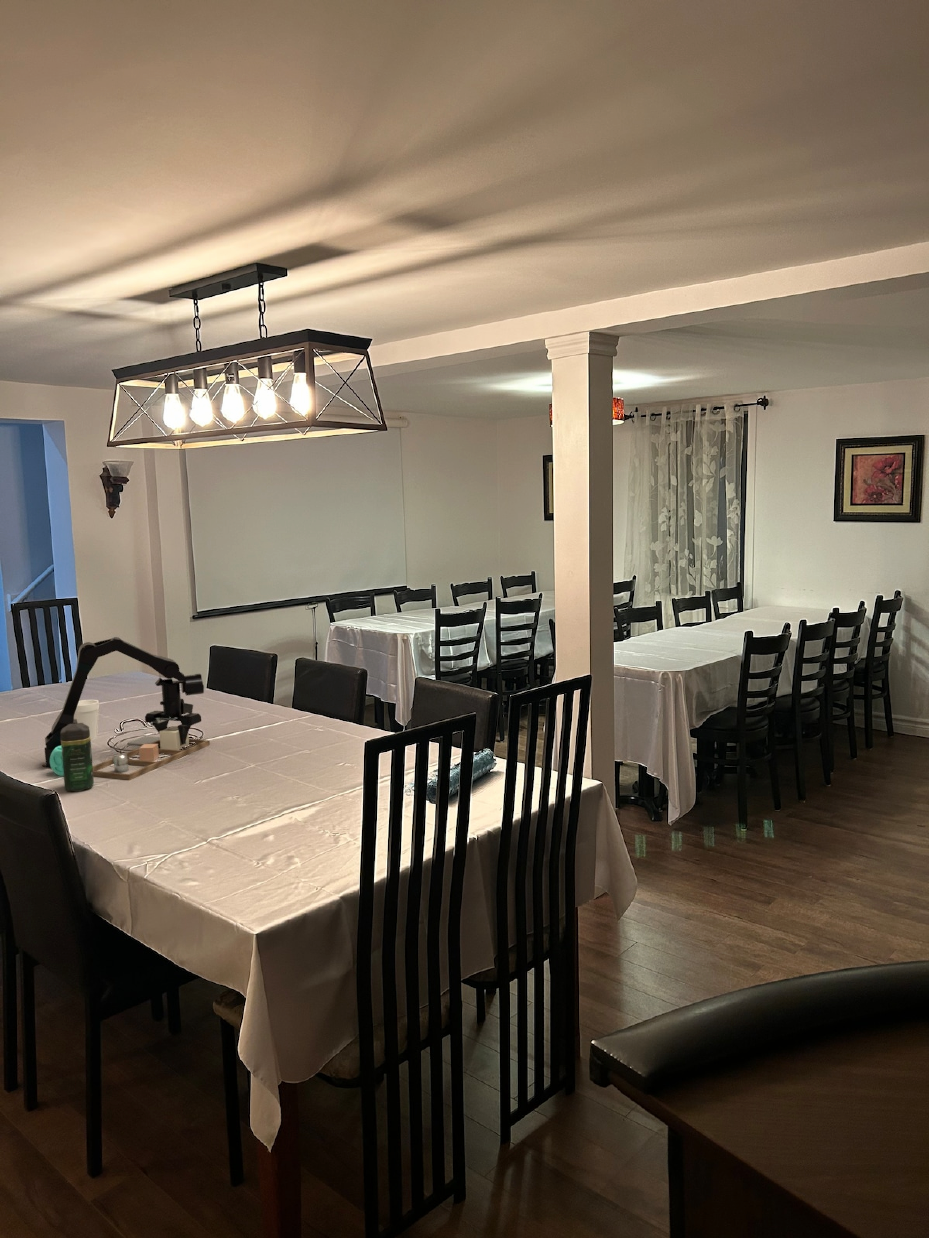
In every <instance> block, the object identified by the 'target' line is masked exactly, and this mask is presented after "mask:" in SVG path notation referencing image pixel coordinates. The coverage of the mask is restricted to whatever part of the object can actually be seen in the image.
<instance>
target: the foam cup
mask: <svg viewBox="0 0 929 1238" xmlns="http://www.w3.org/2000/svg"><path fill="white" fill-rule="evenodd" d="M99 701H100V700H98V699H82V700H81V699H80V700H79V702H78V705H77V708H76V711H75V714H74V719H77V722H78V723H83V724H85V725H87V726H89V730H90V739H91V741H93V740H97V739H98V733H99V732H98V731H99V728H98V727H99V713H100V711H99V710H100V702H99Z"/></svg>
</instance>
